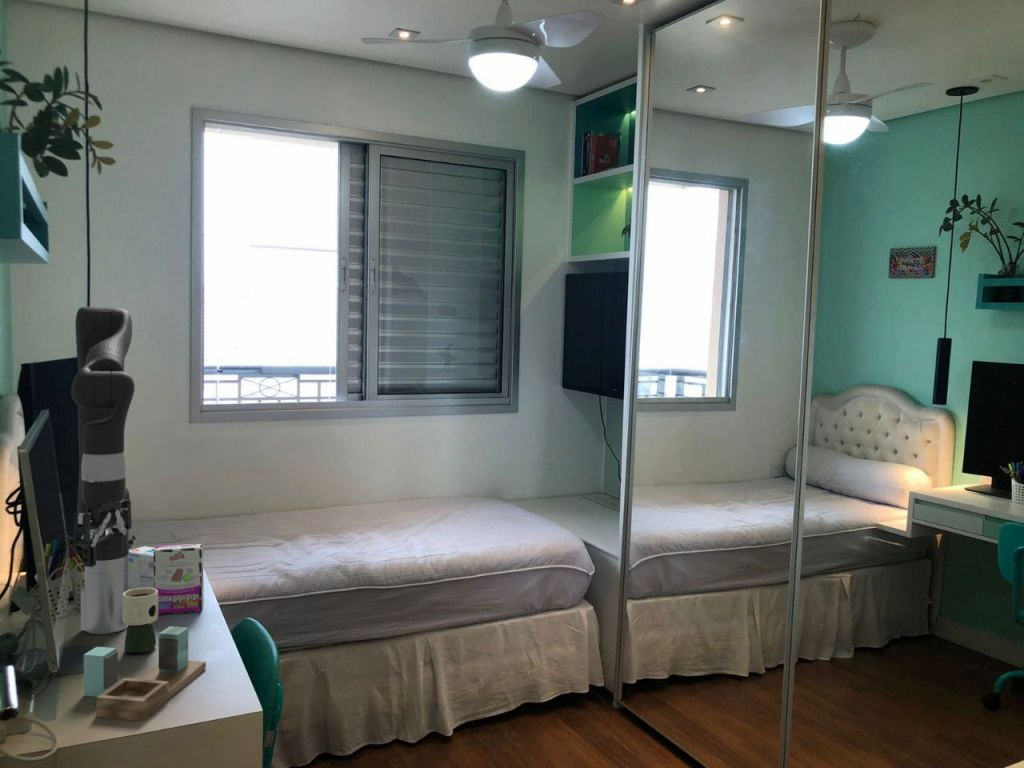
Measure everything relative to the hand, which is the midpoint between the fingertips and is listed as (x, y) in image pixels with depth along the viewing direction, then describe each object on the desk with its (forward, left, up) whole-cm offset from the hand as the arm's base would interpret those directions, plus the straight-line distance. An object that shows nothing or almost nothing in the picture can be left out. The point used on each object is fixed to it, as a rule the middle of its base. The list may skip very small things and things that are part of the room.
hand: (103, 559), depth 155 cm
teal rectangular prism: (-1, 0, -26) cm, 26 cm away
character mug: (-5, +20, -26) cm, 33 cm away
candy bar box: (-10, +45, -26) cm, 53 cm away
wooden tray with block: (+9, +2, -26) cm, 28 cm away
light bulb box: (-26, +59, -26) cm, 70 cm away
